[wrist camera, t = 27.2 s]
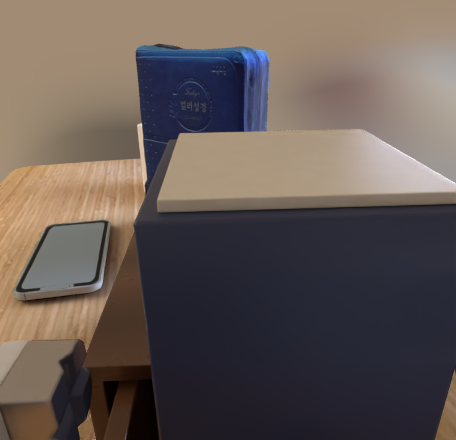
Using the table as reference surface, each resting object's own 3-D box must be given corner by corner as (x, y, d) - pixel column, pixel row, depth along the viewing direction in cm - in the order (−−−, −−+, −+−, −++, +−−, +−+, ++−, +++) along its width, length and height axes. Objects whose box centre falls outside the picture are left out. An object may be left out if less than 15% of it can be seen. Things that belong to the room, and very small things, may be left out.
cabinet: (390, 490, 20) (422, 353, 16) (109, 504, 19) (79, 367, 16) (311, 294, 35) (319, 202, 31) (153, 300, 34) (143, 207, 31)
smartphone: (111, 219, 48) (100, 284, 35) (112, 225, 49) (102, 293, 35) (46, 224, 47) (9, 295, 34) (47, 231, 47) (11, 303, 34)
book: (141, 227, 48) (120, 44, 40) (171, 212, 52) (158, 43, 44) (242, 259, 41) (243, 42, 32) (268, 239, 45) (274, 42, 36)
